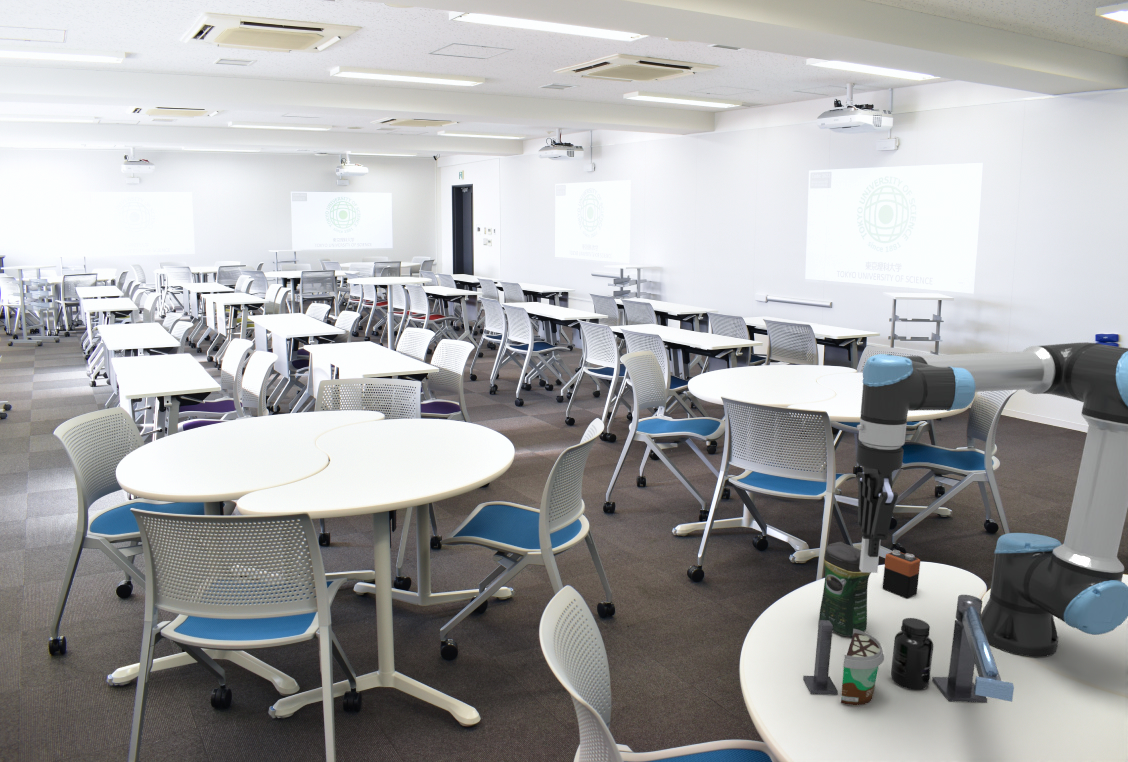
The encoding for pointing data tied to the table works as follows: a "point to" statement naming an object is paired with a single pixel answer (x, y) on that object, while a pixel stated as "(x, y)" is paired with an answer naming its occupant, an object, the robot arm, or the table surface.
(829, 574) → the coffee jar
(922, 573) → the table surface
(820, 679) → the rest post
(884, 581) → the battery
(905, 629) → the supplement bottle
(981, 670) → the cable arm
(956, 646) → the pivot post
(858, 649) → the food container
